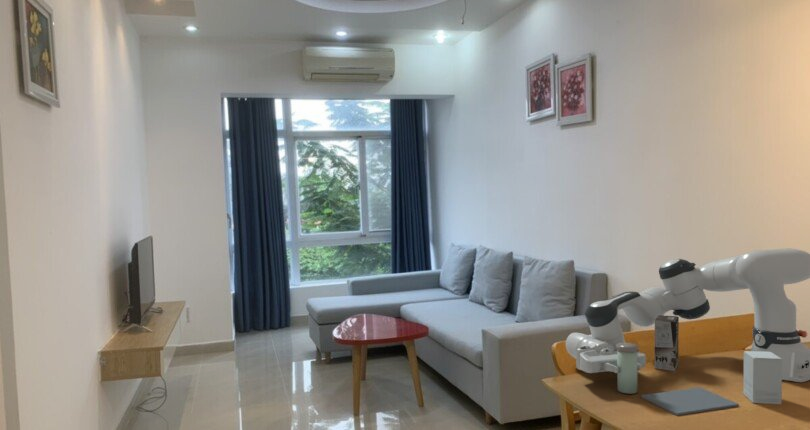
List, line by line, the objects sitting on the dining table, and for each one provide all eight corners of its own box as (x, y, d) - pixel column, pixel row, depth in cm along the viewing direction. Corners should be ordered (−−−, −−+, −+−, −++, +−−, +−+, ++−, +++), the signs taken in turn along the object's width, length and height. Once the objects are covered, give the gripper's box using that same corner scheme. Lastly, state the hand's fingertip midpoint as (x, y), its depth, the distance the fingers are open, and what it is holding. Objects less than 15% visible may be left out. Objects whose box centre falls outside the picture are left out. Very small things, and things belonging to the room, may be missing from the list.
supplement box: (782, 404, 159) (782, 358, 158) (752, 403, 161) (752, 357, 160) (771, 395, 166) (771, 351, 166) (742, 393, 168) (742, 350, 167)
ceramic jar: (629, 385, 175) (629, 341, 174) (642, 392, 169) (642, 347, 168) (612, 387, 173) (611, 343, 173) (624, 394, 168) (624, 349, 167)
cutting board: (699, 389, 172) (699, 387, 172) (738, 406, 159) (738, 403, 159) (641, 397, 167) (641, 395, 167) (676, 415, 153) (676, 413, 153)
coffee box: (675, 371, 188) (675, 321, 188) (654, 368, 192) (653, 319, 191) (679, 364, 196) (679, 316, 195) (658, 361, 200) (658, 314, 199)
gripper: (629, 362, 186) (659, 375, 173) (572, 369, 181) (598, 383, 168) (629, 342, 186) (659, 354, 173) (572, 349, 181) (598, 361, 167)
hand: (629, 368), depth 170 cm, fingers closed on ceramic jar, 5 cm apart
